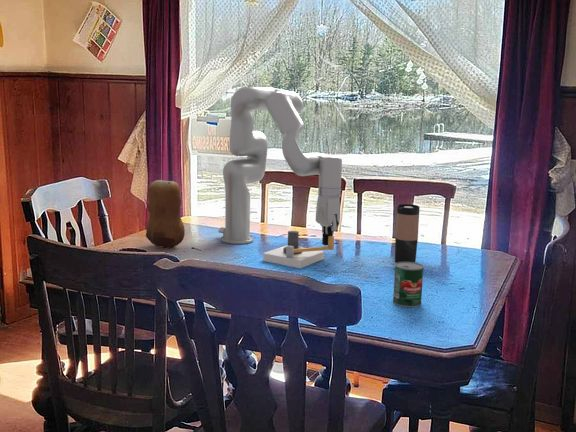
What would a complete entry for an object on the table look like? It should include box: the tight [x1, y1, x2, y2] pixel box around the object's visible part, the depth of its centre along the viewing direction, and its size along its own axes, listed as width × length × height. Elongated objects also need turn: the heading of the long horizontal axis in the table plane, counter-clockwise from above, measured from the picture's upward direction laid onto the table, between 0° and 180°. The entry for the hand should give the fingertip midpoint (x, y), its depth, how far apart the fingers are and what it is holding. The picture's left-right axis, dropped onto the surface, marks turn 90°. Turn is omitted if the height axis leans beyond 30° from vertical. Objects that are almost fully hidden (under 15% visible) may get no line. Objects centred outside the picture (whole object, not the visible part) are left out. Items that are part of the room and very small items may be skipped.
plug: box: [283, 230, 302, 255], centre depth 214 cm, size 6×6×10 cm
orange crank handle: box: [285, 235, 335, 257], centre depth 210 cm, size 2×17×6 cm, turn 113°
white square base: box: [262, 244, 325, 269], centre depth 214 cm, size 15×15×4 cm
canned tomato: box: [392, 262, 425, 308], centre depth 176 cm, size 8×8×11 cm
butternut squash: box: [145, 179, 186, 249], centre depth 230 cm, size 14×13×25 cm
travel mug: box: [394, 203, 420, 264], centre depth 218 cm, size 8×8×20 cm
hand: (327, 244), depth 216 cm, fingers closed
